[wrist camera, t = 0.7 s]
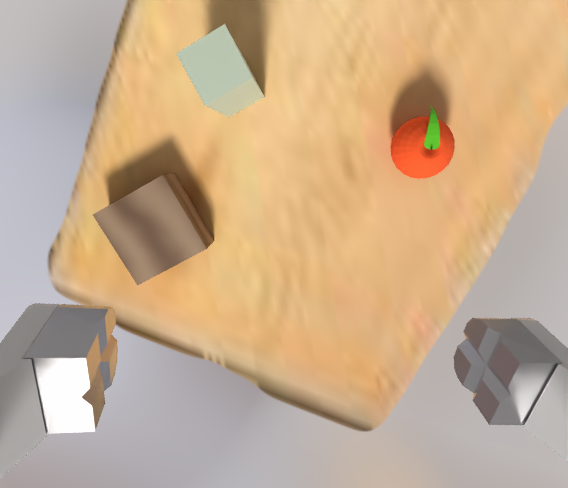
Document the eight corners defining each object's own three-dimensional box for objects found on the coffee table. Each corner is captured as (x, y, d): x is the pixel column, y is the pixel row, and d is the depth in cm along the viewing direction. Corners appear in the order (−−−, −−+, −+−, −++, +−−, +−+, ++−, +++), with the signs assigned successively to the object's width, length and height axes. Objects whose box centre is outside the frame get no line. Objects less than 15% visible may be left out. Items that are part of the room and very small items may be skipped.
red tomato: (389, 108, 48) (404, 100, 41) (446, 110, 48) (471, 103, 41) (382, 175, 50) (395, 179, 43) (438, 178, 50) (460, 182, 43)
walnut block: (174, 172, 51) (162, 174, 47) (214, 240, 53) (206, 248, 48) (109, 209, 52) (92, 214, 48) (150, 274, 54) (137, 285, 50)
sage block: (244, 58, 48) (224, 23, 35) (264, 97, 48) (252, 77, 36) (208, 79, 48) (176, 53, 36) (229, 117, 49) (204, 105, 37)
